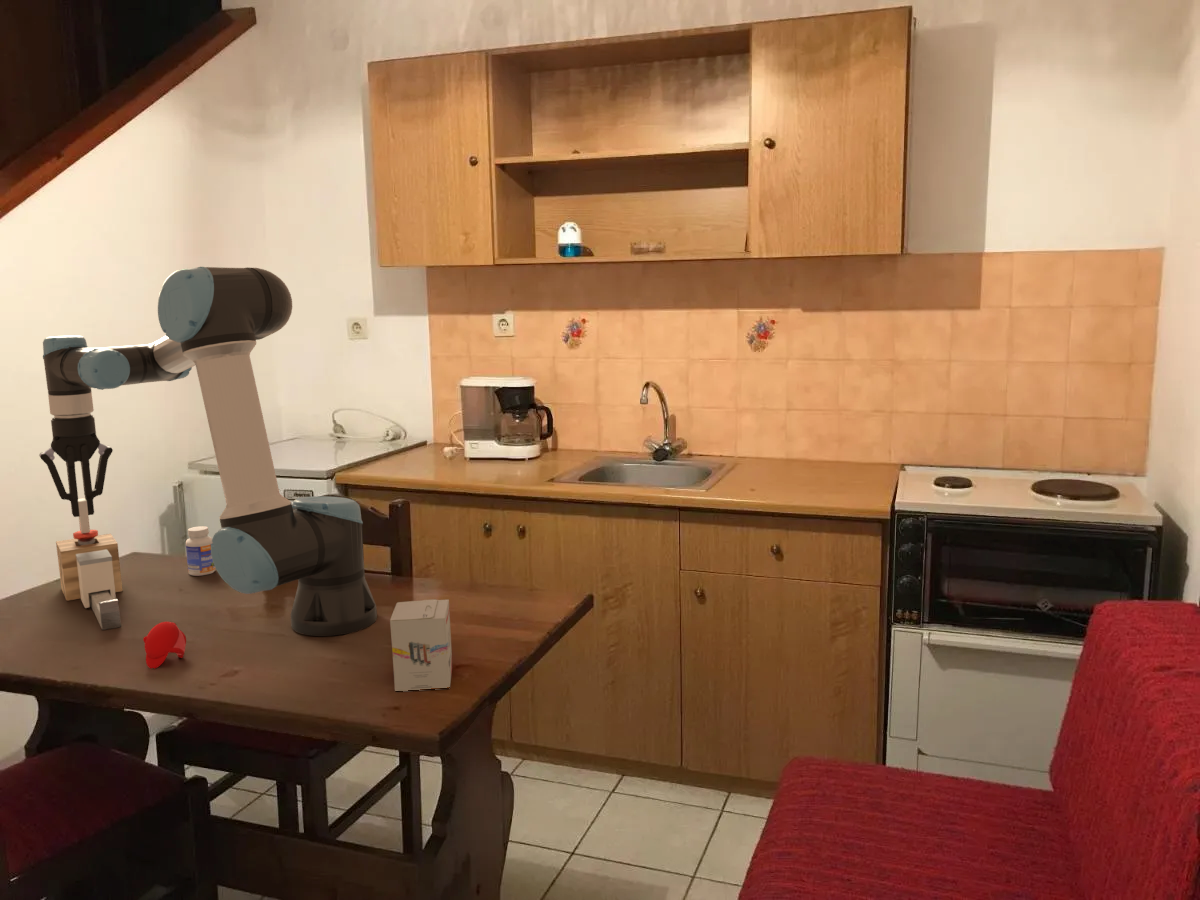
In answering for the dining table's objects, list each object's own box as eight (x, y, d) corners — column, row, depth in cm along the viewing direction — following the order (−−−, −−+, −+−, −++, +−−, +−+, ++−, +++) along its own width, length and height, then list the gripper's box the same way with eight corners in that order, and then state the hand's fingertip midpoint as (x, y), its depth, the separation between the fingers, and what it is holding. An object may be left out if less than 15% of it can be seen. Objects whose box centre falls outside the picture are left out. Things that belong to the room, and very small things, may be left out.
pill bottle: (205, 577, 203) (201, 532, 202) (182, 575, 204) (178, 531, 203) (220, 569, 209) (217, 525, 207) (198, 568, 210) (194, 524, 208)
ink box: (399, 670, 155) (395, 599, 152) (453, 667, 155) (450, 597, 153) (392, 692, 146) (388, 618, 144) (449, 690, 147) (446, 616, 145)
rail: (120, 626, 175) (118, 600, 174) (102, 630, 173) (99, 603, 172) (103, 594, 193) (100, 570, 192) (86, 597, 191) (83, 573, 190)
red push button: (101, 556, 194) (99, 533, 193) (77, 560, 191) (74, 536, 190) (98, 551, 197) (96, 528, 196) (74, 554, 195) (71, 531, 194)
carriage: (116, 602, 186) (111, 556, 185) (84, 608, 183) (79, 561, 182) (111, 594, 191) (107, 549, 190) (80, 599, 188) (75, 554, 187)
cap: (156, 631, 164) (133, 624, 158) (187, 620, 163) (165, 613, 158) (160, 676, 160) (136, 671, 155) (192, 665, 160) (170, 660, 154)
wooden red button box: (122, 591, 195) (117, 543, 193) (66, 600, 189) (60, 551, 187) (115, 579, 202) (110, 533, 200) (61, 588, 197) (55, 541, 195)
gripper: (106, 409, 196) (118, 522, 200) (32, 415, 189) (46, 532, 193) (112, 414, 190) (123, 530, 194) (35, 420, 182) (50, 540, 187)
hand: (85, 531), depth 193 cm, fingers closed
